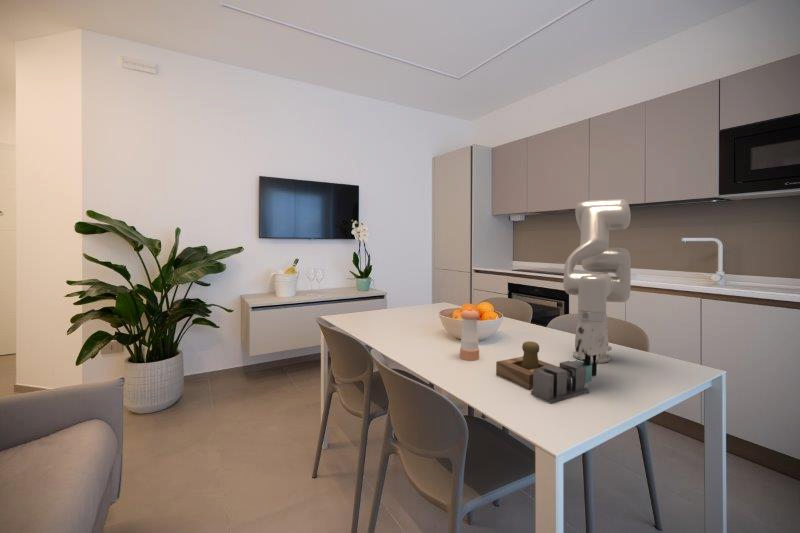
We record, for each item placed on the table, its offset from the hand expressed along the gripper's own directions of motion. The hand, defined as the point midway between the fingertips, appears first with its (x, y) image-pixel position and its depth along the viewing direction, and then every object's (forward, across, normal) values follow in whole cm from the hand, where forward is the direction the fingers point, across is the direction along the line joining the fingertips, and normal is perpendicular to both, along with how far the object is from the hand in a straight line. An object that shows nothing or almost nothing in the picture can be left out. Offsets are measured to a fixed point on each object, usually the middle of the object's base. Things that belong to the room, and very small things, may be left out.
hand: (589, 374), depth 110 cm
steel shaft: (+1, -11, 0) cm, 11 cm away
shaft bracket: (+3, -13, 0) cm, 14 cm away
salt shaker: (+4, -15, +39) cm, 42 cm away
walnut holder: (+3, -12, +13) cm, 18 cm away
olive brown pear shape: (+2, -12, +12) cm, 17 cm away
